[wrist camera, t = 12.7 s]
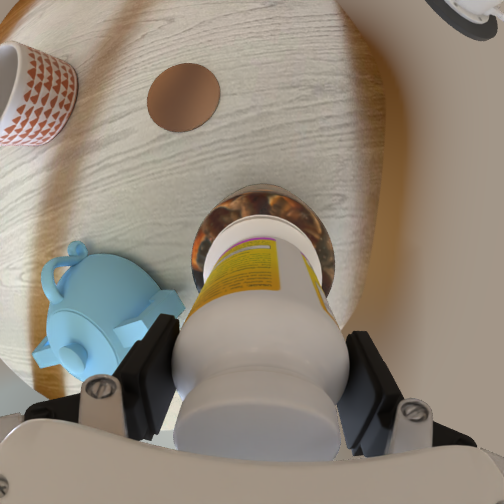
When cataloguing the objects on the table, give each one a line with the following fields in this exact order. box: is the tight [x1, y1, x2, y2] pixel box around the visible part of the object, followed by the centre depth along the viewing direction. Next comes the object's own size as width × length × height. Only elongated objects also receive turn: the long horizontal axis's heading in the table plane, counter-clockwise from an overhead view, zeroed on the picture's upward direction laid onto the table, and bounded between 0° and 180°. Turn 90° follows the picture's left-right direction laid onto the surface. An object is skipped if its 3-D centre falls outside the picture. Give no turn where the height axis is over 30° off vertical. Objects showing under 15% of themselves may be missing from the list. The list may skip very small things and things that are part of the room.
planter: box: [0, 41, 78, 146], centre depth 23 cm, size 14×14×13 cm
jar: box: [191, 184, 335, 298], centre depth 26 cm, size 12×12×15 cm
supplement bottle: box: [171, 236, 350, 462], centre depth 12 cm, size 7×7×13 cm
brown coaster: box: [147, 63, 220, 132], centre depth 29 cm, size 9×9×1 cm
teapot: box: [32, 241, 186, 382], centre depth 31 cm, size 19×19×14 cm
